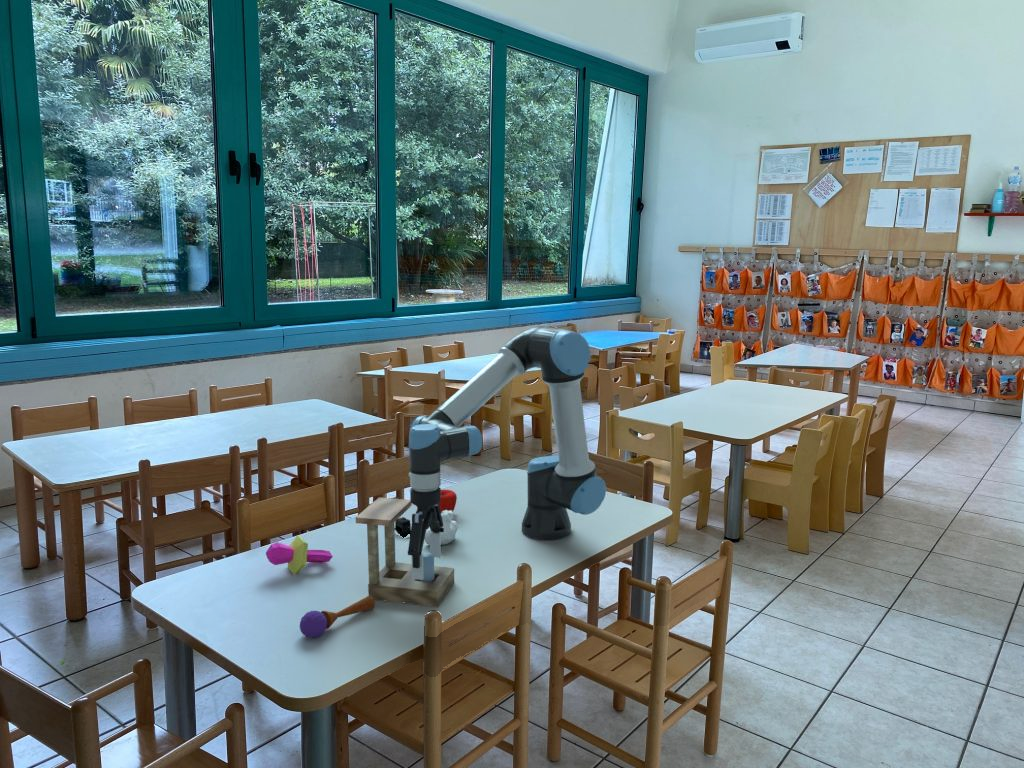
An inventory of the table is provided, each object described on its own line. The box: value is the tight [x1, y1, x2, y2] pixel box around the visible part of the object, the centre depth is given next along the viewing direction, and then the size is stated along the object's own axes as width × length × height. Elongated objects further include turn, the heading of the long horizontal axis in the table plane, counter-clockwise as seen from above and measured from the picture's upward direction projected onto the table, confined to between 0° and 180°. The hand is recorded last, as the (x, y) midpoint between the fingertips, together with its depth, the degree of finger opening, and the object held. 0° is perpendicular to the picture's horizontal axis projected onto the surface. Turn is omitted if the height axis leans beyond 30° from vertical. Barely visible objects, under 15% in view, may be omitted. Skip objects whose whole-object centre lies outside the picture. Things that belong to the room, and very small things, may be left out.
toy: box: [265, 535, 334, 575], centre depth 212 cm, size 10×18×10 cm, turn 123°
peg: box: [420, 552, 435, 583], centre depth 199 cm, size 4×4×10 cm
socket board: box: [367, 561, 455, 608], centre depth 200 cm, size 18×14×4 cm
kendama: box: [299, 595, 376, 639], centre depth 183 cm, size 6×6×20 cm
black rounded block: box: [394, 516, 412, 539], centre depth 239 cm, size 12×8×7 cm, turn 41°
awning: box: [355, 496, 413, 584], centre depth 200 cm, size 9×15×18 cm, turn 167°
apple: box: [439, 489, 458, 513], centre depth 254 cm, size 9×9×8 cm
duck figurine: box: [424, 510, 459, 546], centre depth 231 cm, size 12×8×11 cm
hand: (426, 567), depth 199 cm, fingers open, 13 cm apart
